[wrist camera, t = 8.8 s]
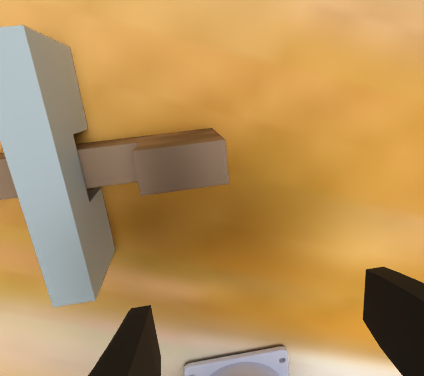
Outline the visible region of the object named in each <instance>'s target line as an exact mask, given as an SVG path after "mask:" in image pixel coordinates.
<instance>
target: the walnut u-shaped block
mask: <svg viewBox="0 0 424 376" xmlns="http://www.w3.org/2000/svg"><path fill="white" fill-rule="evenodd" d="M76 149H77V153H78V157H79V161H80V165H81V169H82V173H83V178H84V182H85V186H86V188H94V187H101V186H109V185H116V184H124V183H132V182H138V185H139V190H140V195H141V196H142V195H150V194H157V193H165V192H172V191H179V190H187V189H194V188H202V187H209V186H216V185H224V184H229V173H228V162H227V151H226V140H225V139H224V138H223V137H222V136H220V135H219V134H218V133H217V132H216V131H215V130H213V129H212V128H209V129H201V130H193V131H184V132H176V133H168V134H159V135H151V136H142V137H134V138H126V139H117V140H109V141H100V142H92V143H84V144H76ZM10 198H18V195H17V192H16V189H15V186H14V183H13V179H12V176H11V173H10V170H9V167H8V164H7V160H6V157H5V154H4V153H0V200H2V199H10Z"/></svg>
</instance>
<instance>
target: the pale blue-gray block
mask: <svg viewBox="0 0 424 376" xmlns="http://www.w3.org/2000/svg"><path fill="white" fill-rule="evenodd" d="M87 129H88V126H87V122H86V117H85V113H84V108H83V104H82V99H81V95H80V90H79V86H78V81H77V77H76V73H75V68H74V64H73V59H72V55H71V50H70V47H69V46H66V45H64V44H62V43H60V42H58V41H56V40H54V39H52V38H49V37H47V36H45V35H43V34H41V33H39V32H37V31H34V30H32V29H30V28H28V27H26V26H24V25H21V26H9V27H0V142H1V145H2V148H3V151H4V154H5V157H6V160H7V164H8V167H9V170H10V173H11V176H12V179H13V183H14V186H15V189H16V192H17V195H18V198H19V202H20V205H21V208H22V211H23V214H24V217H25V220H26V224H27V227H28V230H29V233H30V236H31V239H32V243H33V246H34V249H35V252H36V255H37V258H38V262H39V265H40V268H41V271H42V274H43V277H44V281H45V284H46V287H47V290H48V293H49V296H50V299H51V303H52V306H53V307H58V306H64V305H71V304H77V303H83V302H90V301H96V298H97V295H98V293H99V290H100V288H101V285H102V283H103V280H104V278H105V275H106V273H107V270H108V267H109V265H110V262H111V260H112V257H113V255H114V252H115V247H114V242H113V238H112V233H111V229H110V224H109V220H108V215H107V211H106V206H105V202H104V198H103V193H102V189H101V188H95V189H87V190H86V186H85V182H84V178H83V173H82V169H81V165H80V161H79V157H78V153H77V149H76V144H75V140H74V136H73V134H76V133H79V132H81V131H84V130H87Z"/></svg>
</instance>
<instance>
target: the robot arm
mask: <svg viewBox="0 0 424 376" xmlns="http://www.w3.org/2000/svg"><path fill="white" fill-rule="evenodd" d="M363 320H364V322H365V324H366V325H367V327H368V329H369V330H370V332H371V334H372V335H373V337H374V338H375V340H376V341H377V343H378V344H379V346H380V347H381V349H382V350H383V351H384V353H385V354H386V355H387V357H388V358H389V359H390V360H391V362H392V363H393V364H394V365H395V367H396V368H397V369H398V370H399V372H400V373H401V374H402V375H403V376H424V283H422V282H420V281H417V280H415V279H413V278H410V277H408V276H406V275H403V274H401V273H398V272H396V271H393V270H391V269H388V268H385V267H379V268H372V269H366V277H365V294H364V310H363ZM280 358H281V359H280ZM88 376H161V355H160V350H159V345H158V340H157V335H156V330H155V325H154V320H153V315H152V310H151V305H149V306H143V307H137V308H131V309H130V311H129V312H128V313H127V315H126V317H125V319H124V320H123V322H122V324H121V325H120V327H119V329H118V330H117V332H116V334H115V335H114V337H113V339H112V340H111V342H110V343H109V345H108V347H107V348H106V350H105V351H104V353H103V354H102V356H101V357H100V359H99V360H98V362H97V363H96V365H95V367H94V368H93V369H92V371H91V372H90V374H89V375H88ZM184 376H289V363H288V351H287V349H286V348H285V347H283V346H282V347H275V348H269V349H264V350H258V351H253V352H248V353H242V354H237V355H231V356H226V357H220V358H215V359H209V360H204V361H198V362H193V363H189V364H187V365H185V367H184Z"/></svg>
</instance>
